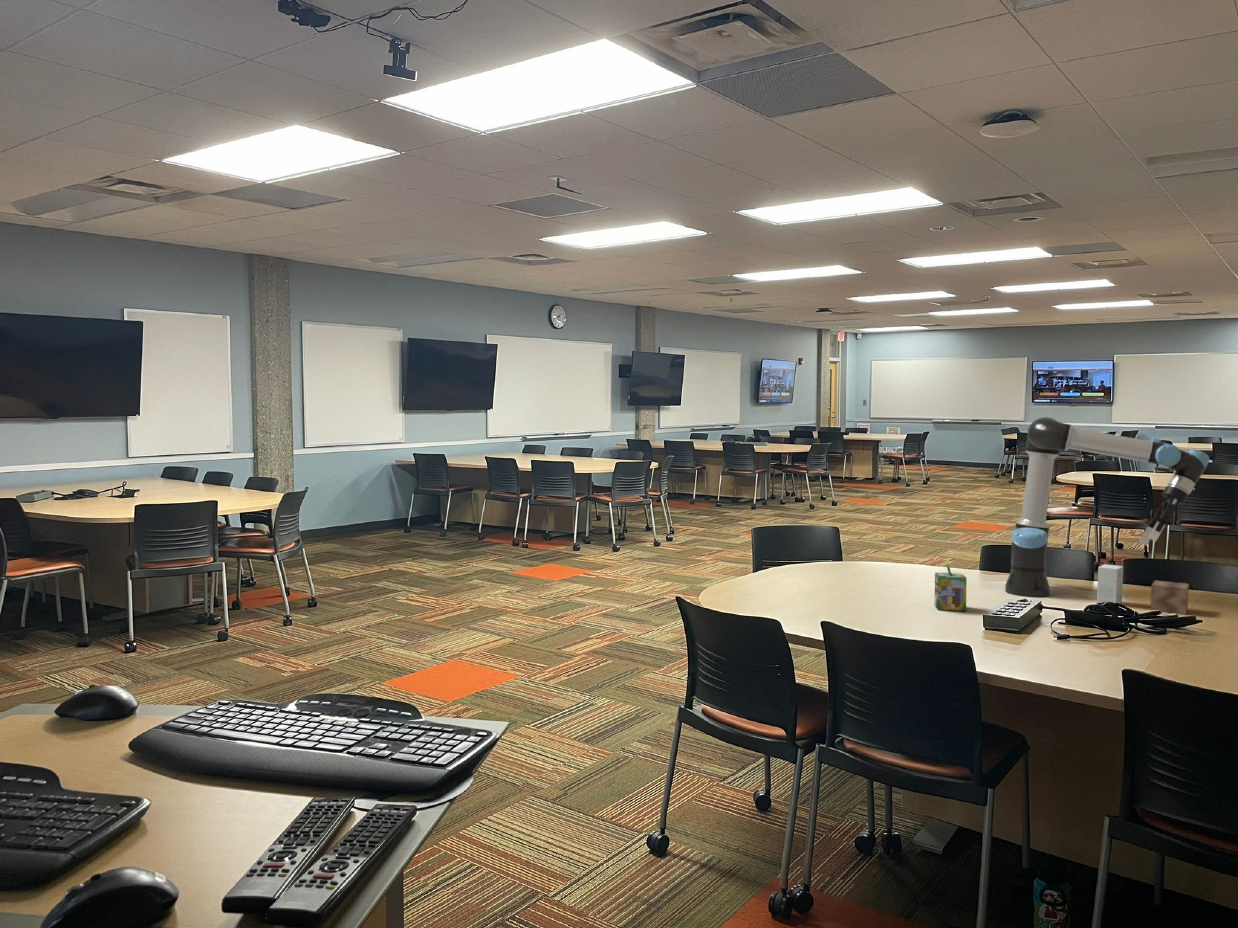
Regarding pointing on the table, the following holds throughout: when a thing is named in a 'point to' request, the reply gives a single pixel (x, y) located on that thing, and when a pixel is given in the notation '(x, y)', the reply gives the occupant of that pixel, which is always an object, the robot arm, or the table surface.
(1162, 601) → the walnut block
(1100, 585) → the small box
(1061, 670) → the table surface
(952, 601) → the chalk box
